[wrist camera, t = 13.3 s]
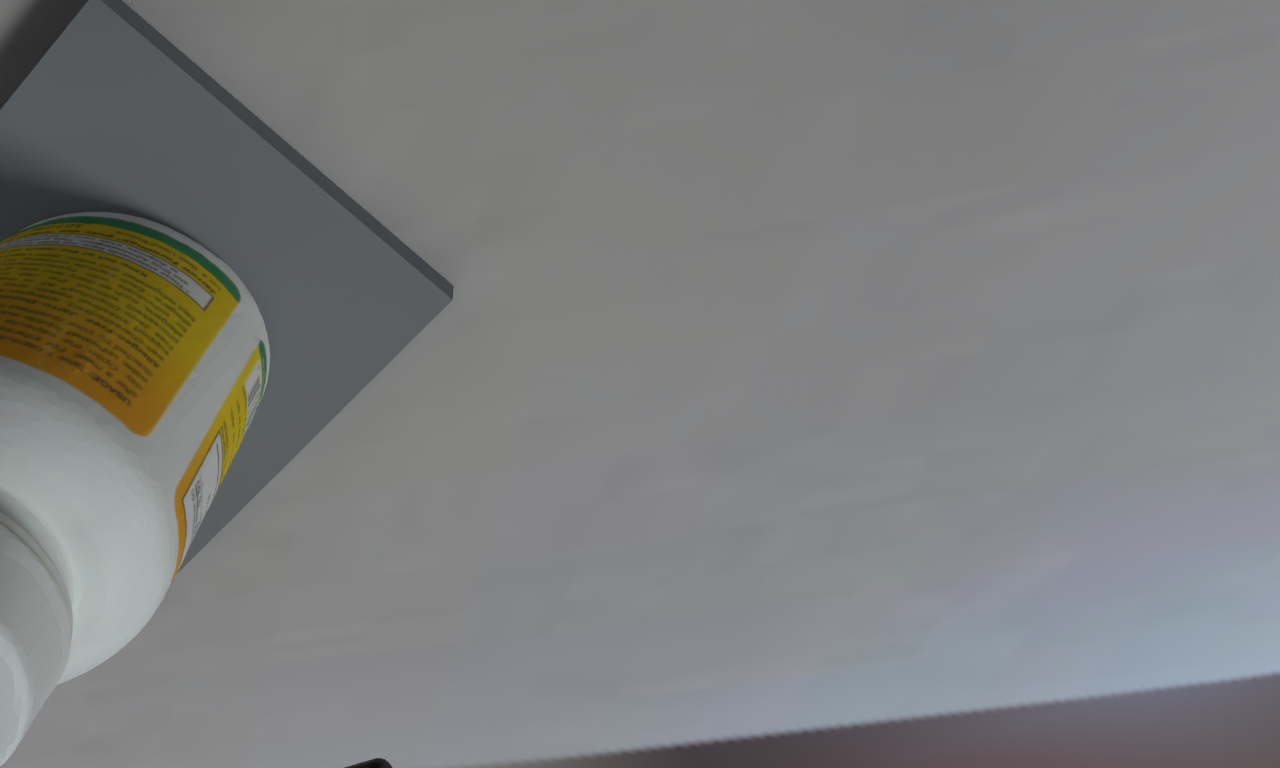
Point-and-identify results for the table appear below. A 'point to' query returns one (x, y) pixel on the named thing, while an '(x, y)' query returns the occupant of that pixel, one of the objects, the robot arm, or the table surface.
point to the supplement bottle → (108, 434)
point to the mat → (217, 221)
